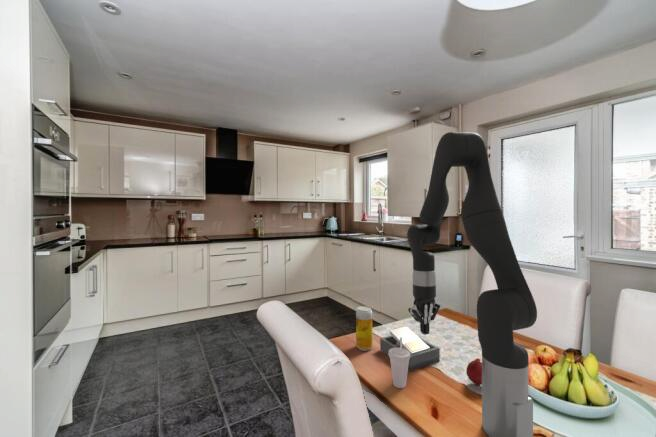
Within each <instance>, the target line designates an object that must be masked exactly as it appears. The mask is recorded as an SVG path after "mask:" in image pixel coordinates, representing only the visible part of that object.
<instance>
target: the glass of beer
mask: <svg viewBox="0 0 656 437" xmlns="http://www.w3.org/2000/svg"><path fill="white" fill-rule="evenodd" d="M355 325H356V326H355V327H356V328H355V331H356V333H355V334H356V335H355V337H356V339H355V340H356V341H355V342H356V347H357V349H358V350H359V351H363V352H367V351H370V350H371V349H372V348H373V340H374V339H373V311H372V308H371V307H370V306H365V305H364V306H361V305H360V306H358V307H357V308H356V310H355Z"/></svg>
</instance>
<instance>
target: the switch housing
mask: <svg viewBox="0 0 656 437" xmlns="http://www.w3.org/2000/svg"><path fill="white" fill-rule="evenodd" d="M379 339H380V343H379V344H380V349H379V350H380V352H382V353H384V354H385V355H387V356H388V357H389V355H388V353H389V350H390V349H391V348H400V347H397V345H396V343H397V341H396V339H395V338H394V337H393V336H392V335H391V334H390V335H387V336H384V337H380V338H379ZM421 340H422V341H423V342H424V343H425V344H426V345H427V346H429V347H430V349H429V350H426V351H423V352H419V353H416V354H413V355H410V358H409V364H408V371H410V372H412V371H415V370H418V369H420V368H425V367H427V366H429V365H432V364H436V363H438V362H440V361H441V360H440V358H441V356H440V355H441V354H440V352H441V351H440V350H441V349H440V347H438V346H436V345H434V344H433V343H430V342H429V341H426V340H424V338H423V339H422V338H421ZM402 348H403V347H402Z"/></svg>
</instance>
